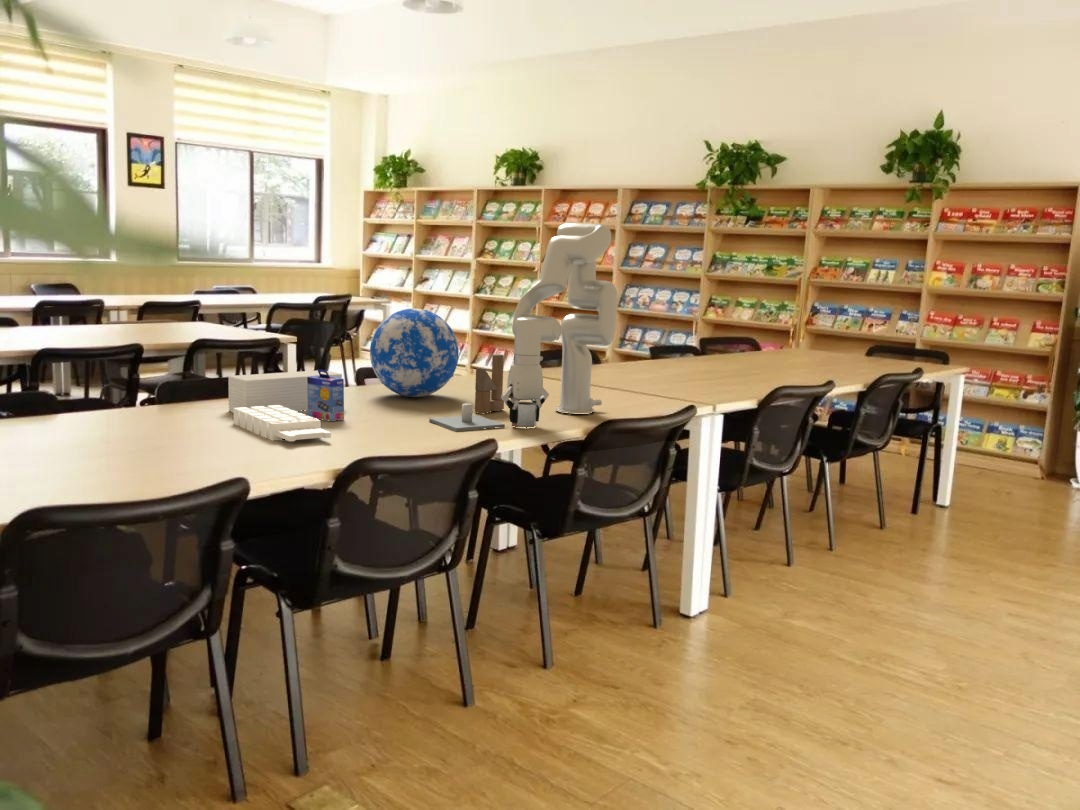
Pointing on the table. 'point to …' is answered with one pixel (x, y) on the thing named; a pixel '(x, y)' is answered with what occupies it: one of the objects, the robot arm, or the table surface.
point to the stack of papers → (271, 389)
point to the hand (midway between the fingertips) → (524, 421)
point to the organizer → (279, 423)
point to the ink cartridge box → (325, 397)
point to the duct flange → (466, 421)
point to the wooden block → (490, 387)
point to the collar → (526, 414)
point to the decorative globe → (414, 352)
